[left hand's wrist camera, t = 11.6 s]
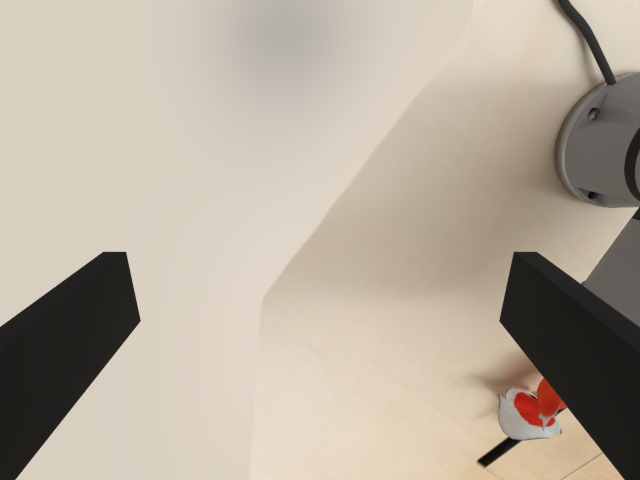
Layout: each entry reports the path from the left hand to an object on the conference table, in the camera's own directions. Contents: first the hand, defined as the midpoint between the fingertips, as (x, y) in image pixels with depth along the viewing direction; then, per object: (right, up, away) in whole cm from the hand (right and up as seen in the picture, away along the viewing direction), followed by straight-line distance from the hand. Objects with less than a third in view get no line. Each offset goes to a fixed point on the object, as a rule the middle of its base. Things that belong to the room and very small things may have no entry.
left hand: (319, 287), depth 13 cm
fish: (+32, -21, +45) cm, 60 cm away
